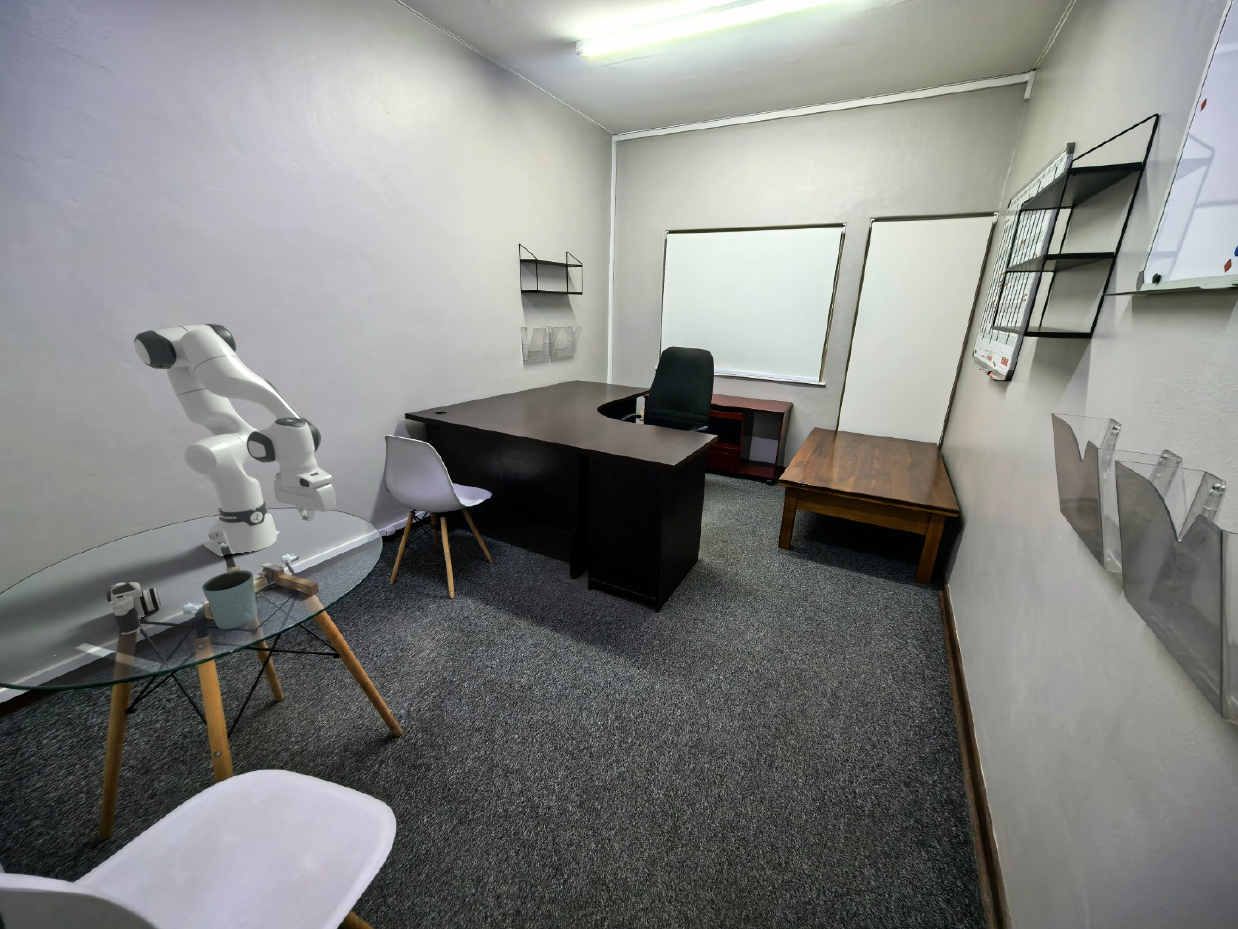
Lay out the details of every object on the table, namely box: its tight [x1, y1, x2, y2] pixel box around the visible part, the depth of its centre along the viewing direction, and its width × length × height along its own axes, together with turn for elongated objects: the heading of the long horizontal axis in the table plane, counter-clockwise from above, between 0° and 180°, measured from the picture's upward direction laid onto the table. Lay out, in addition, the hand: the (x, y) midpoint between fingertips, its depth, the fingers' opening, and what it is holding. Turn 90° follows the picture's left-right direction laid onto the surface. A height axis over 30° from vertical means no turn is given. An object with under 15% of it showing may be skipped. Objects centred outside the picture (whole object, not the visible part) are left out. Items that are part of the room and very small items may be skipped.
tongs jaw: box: [261, 562, 320, 597], centre depth 134 cm, size 20×2×6 cm, turn 70°
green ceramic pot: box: [201, 569, 259, 630], centre depth 119 cm, size 10×10×12 cm
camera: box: [106, 581, 162, 635], centre depth 119 cm, size 16×9×10 cm, turn 48°
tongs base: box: [202, 567, 275, 620], centre depth 129 cm, size 20×4×6 cm, turn 166°
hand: (308, 520), depth 132 cm, fingers closed
